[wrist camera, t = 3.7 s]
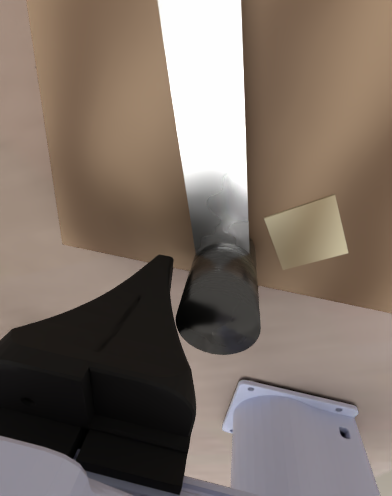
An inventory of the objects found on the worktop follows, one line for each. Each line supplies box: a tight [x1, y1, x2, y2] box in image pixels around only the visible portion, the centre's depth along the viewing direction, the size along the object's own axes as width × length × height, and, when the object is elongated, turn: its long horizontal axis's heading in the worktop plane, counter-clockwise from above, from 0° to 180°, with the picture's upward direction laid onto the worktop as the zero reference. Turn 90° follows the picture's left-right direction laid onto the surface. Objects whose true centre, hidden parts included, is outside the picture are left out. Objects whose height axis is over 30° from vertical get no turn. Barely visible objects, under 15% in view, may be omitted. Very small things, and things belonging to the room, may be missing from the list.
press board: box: [26, 0, 392, 313], centre depth 10 cm, size 20×18×4 cm
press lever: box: [158, 0, 261, 355], centre depth 8 cm, size 4×16×5 cm, turn 8°
